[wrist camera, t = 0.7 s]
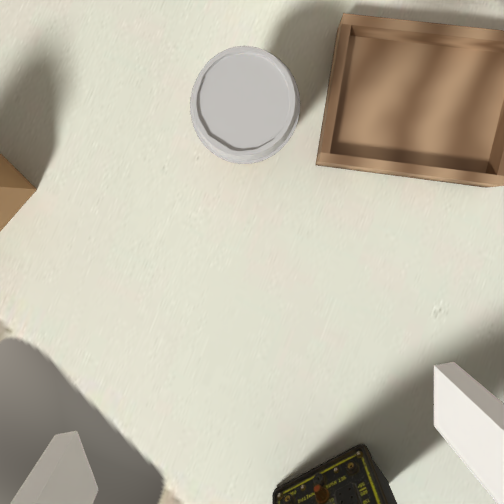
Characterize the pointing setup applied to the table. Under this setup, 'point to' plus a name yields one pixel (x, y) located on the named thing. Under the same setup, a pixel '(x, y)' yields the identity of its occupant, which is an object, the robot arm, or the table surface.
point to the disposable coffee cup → (245, 105)
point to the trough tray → (416, 101)
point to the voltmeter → (339, 482)
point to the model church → (12, 191)
